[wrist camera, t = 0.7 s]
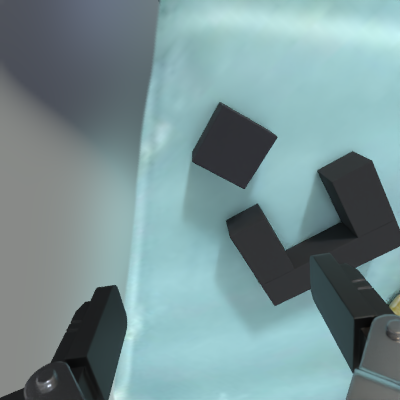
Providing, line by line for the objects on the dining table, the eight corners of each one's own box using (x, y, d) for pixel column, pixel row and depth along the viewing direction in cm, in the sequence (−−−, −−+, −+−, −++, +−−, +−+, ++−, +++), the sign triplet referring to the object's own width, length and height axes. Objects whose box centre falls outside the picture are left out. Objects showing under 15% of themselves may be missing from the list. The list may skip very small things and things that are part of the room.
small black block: (191, 152, 34) (192, 161, 30) (219, 101, 32) (223, 105, 28) (239, 177, 35) (244, 189, 31) (268, 129, 33) (278, 137, 30)
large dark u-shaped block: (225, 220, 37) (229, 236, 33) (352, 151, 34) (372, 160, 31) (267, 285, 41) (274, 306, 37) (385, 227, 38) (405, 243, 34)
